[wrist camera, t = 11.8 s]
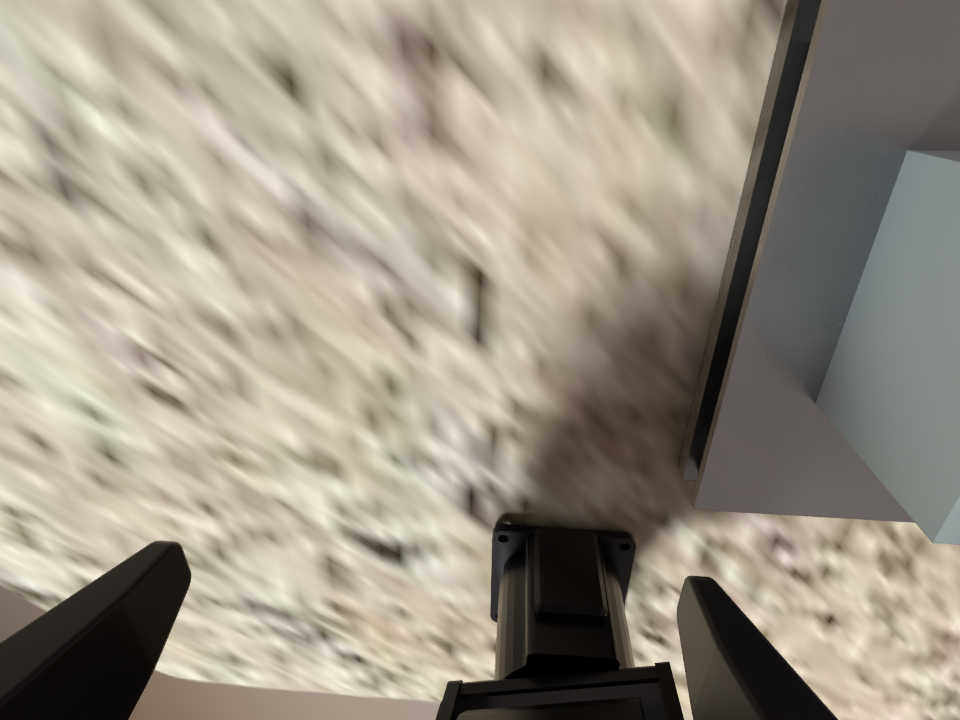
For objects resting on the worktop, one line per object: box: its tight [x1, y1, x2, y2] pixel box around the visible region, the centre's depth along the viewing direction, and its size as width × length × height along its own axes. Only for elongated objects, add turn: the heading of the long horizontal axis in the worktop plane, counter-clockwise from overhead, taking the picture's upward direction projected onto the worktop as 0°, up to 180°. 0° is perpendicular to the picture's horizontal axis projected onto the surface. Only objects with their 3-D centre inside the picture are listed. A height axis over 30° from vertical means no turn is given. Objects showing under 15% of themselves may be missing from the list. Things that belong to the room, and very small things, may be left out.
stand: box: [678, 0, 960, 523], centre depth 17 cm, size 18×11×2 cm, turn 0°
